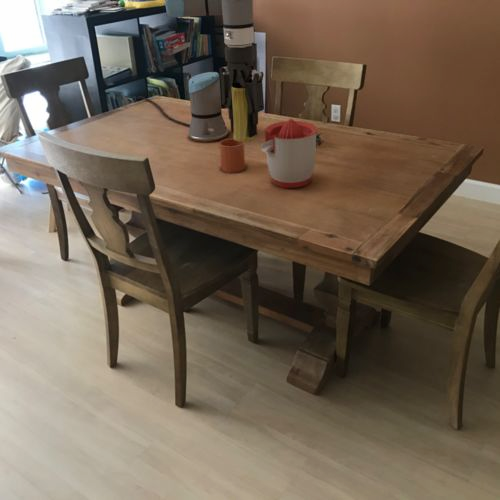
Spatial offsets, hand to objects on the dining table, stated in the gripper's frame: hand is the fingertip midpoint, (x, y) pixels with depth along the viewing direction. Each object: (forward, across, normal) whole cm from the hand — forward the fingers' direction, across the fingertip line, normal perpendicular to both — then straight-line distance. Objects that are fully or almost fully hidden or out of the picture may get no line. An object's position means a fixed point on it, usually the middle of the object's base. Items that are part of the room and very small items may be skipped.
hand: (244, 133), depth 142 cm
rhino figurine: (+20, -12, +48) cm, 54 cm away
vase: (+2, 0, 0) cm, 2 cm away
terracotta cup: (+20, -20, +15) cm, 32 cm away
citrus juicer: (+20, +2, +17) cm, 27 cm away
